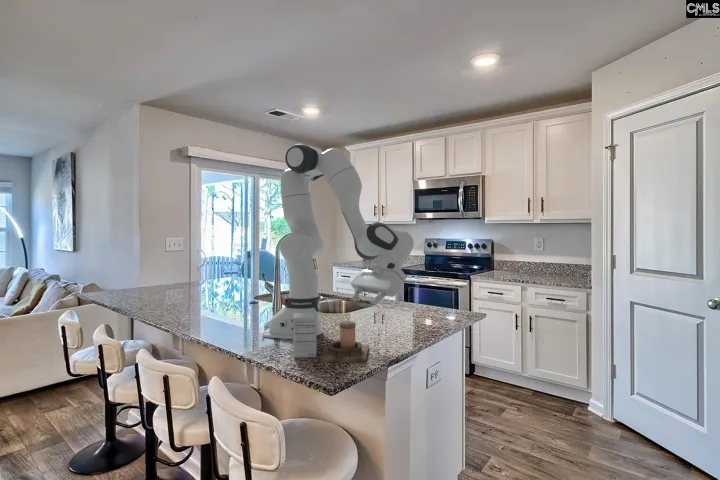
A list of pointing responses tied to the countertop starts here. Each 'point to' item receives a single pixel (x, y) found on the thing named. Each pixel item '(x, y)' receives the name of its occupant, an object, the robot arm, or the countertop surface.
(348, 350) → the jar stand
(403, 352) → the countertop surface
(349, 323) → the spice jar
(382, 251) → the robot arm
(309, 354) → the supplement box
